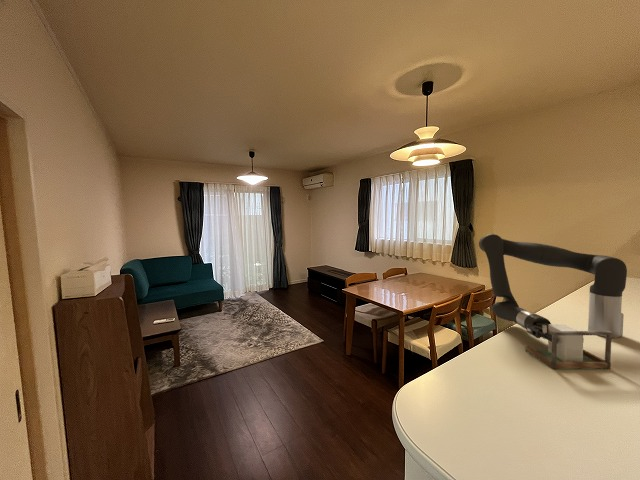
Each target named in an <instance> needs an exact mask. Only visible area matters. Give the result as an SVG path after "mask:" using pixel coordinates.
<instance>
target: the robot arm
mask: <svg viewBox="0 0 640 480" xmlns="http://www.w3.org/2000/svg"><path fill="white" fill-rule="evenodd" d="M478 247H479V249H480V250H481V251H482V252H484V253H485V255H486V258H487V261H488V266H489V278H490V279H489V280H490V283H491V284H490V285H491V288H492V289H491V290H492V293H493V295H494V296H495V297H496V298H497V297H498V298H503V299H504V301H498V302H494V303H493V304H492V307H491V309H492V313H494V315H495V316H497V318H500V319H502V320H504V321H508V322H512V323H514V324H516V325H519V326H520V327H521V328H523V329H525V330H526V332H527V333H528V334H530V335H531V336H533V338H536V339H541V338H542V339H544V340H547V341H548V340H549V341H551V342H552V335H551V334H549V333H548V325H549V324H552V323H551V321H550V320H549V319H547V318H546V317H544V316H542V315H540V314H537V313H534V312H532V311H528V310H526V309H524V308H522V307H520V306H519V304H518V302H517V300H516V299H515V297H514V295H513V293H512V290H511V287H510V282H509V281H510V280H509V278H508V273H507V270H506V264H505V259H504V258H505V256H508V257H513V258H516V259H519V260H523V261H526V262H530V263H534V264H539V265H542V266H543V265H544V266H547V267H548V266H549V267H555V268H556V267H558V268H569V269H575V270H578V271H582V272H585V273H588V274H591V275H594V282H593V283H592V284H591V285H590V286H589V295H588V296H589V297H588V298H589V299H588V319H587V320H588V323H587V324H588V325H587V331H611V332H613V333H612V337H611V339H612V338H614V339H617V338H621V337H623V335H624V316H625V315H624V313H622V305H623V304H622V302H623V301H622V300H623V292H624V291H625V290H626V284H627V276H628V275H627V274H628V268H627V265H626V262H624V261H623V260H622V259H620V258H617V257H614V256H608V255H601V254H600V255H599V254H591V253H590V254H589V253H583V252H576V251H572V250H569V249H565V248H561V247H558V246H553V245H549V244H544V243H537V242H528V241H527V242H526V241H514V240H508V239H505V238H502V237H501V236H499V235H498V234H495V233H489V234H486V235H484V236H482V237H481V238H480V239H479V242H478ZM599 336H601V337H605V338H606V335H599ZM583 342H584V337H583ZM557 343H558V338H557Z"/></svg>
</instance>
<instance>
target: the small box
mask: <svg viewBox="0 0 640 480" xmlns="http://www.w3.org/2000/svg"><path fill="white" fill-rule="evenodd" d="M551 331H578V330H577V329H574V328H573V327H571V326H568V325H567V324H553V323H551V324H549V325H548V333H549V334H551ZM551 335H552V334H551ZM557 338H558V343H557V352H556V357H557V358H559V359H560V360H562V361H563V362H583V350H584V341H583V338H584V335H557ZM547 341H548V342H547V346H548V347H547V350H548V352H550V353H551V354H552V342H551V341H549V340H547Z"/></svg>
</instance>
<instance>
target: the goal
mask: <svg viewBox="0 0 640 480" xmlns="http://www.w3.org/2000/svg"><path fill="white" fill-rule="evenodd" d="M612 333H613V332H611V331H588V330H577V331H551V334H552V354H551V353H550V352H548V349H534V348H532V346H530V345H525V352H526V353H528V354H529V355H531V356H532V357H534V358H535V359H537V360H538V361H540V362H542V363H543V364H545V366H548V367H549V368H550V369H552V370H611V369H612V368H611V365H612V363H611V354H612V338H611V337H612ZM557 335H583V336H600V335H606V337H605V347H604V349H605V351H604V359H603V358H601V357H599V356H597V355H595V354H593V353H591V352H589V351H587V350H585V349H583V362H563V361H562V360H560V359H559V358H557V357H556V352H557Z"/></svg>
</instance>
